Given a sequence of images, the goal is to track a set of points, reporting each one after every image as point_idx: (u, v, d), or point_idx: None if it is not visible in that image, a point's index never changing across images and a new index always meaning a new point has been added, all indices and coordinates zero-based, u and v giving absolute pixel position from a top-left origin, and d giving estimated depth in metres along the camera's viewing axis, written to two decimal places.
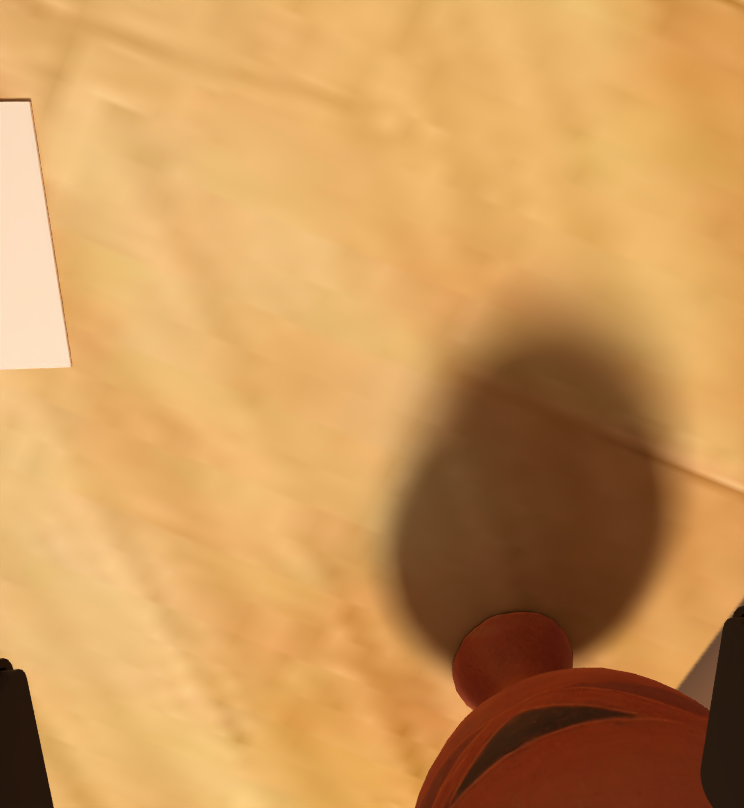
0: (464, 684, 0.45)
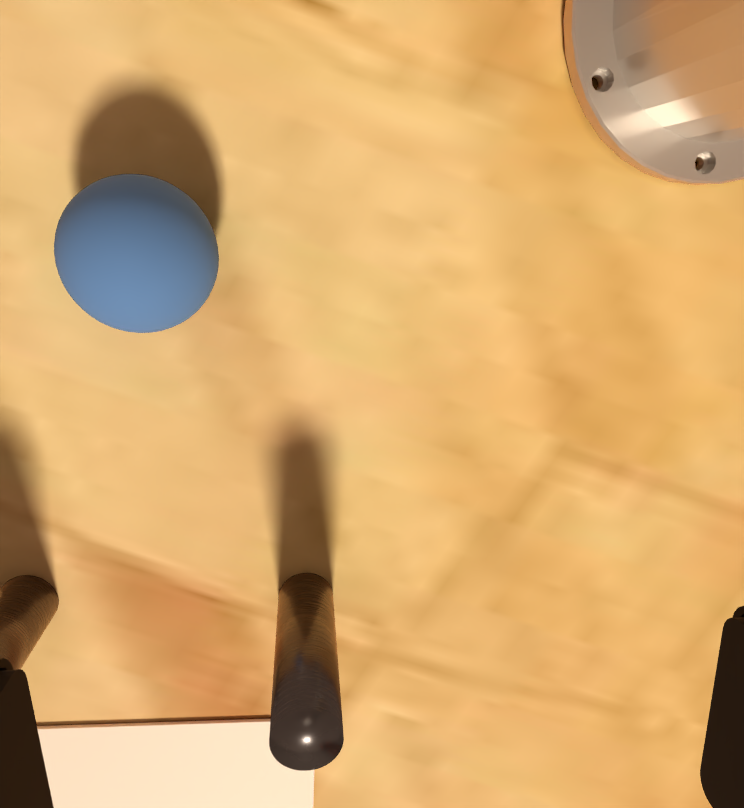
0: None
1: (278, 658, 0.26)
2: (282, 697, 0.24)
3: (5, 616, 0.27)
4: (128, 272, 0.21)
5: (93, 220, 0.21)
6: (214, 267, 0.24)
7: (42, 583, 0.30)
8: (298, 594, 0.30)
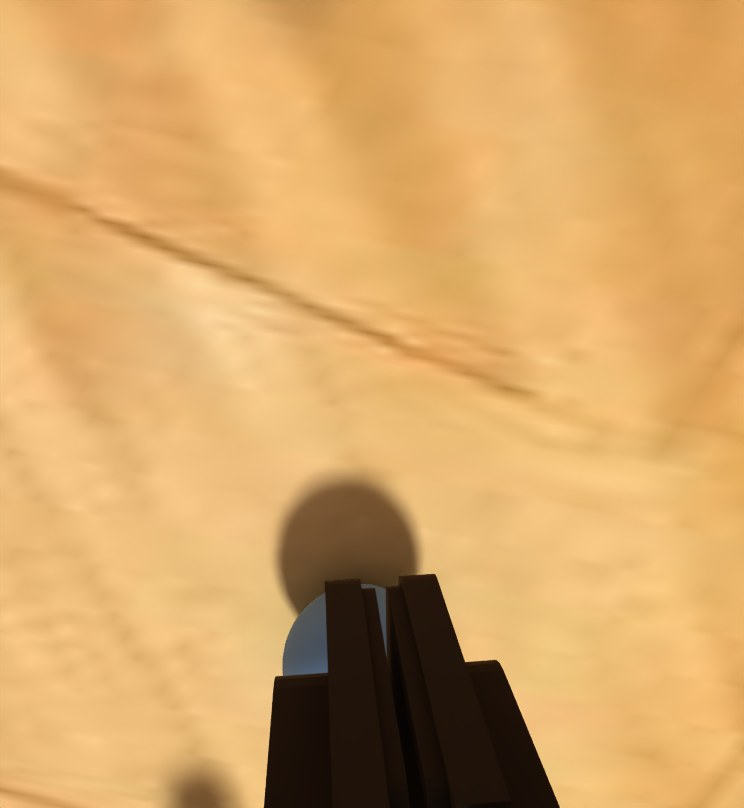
0: None
1: None
2: None
3: None
4: None
5: None
6: None
7: None
8: None
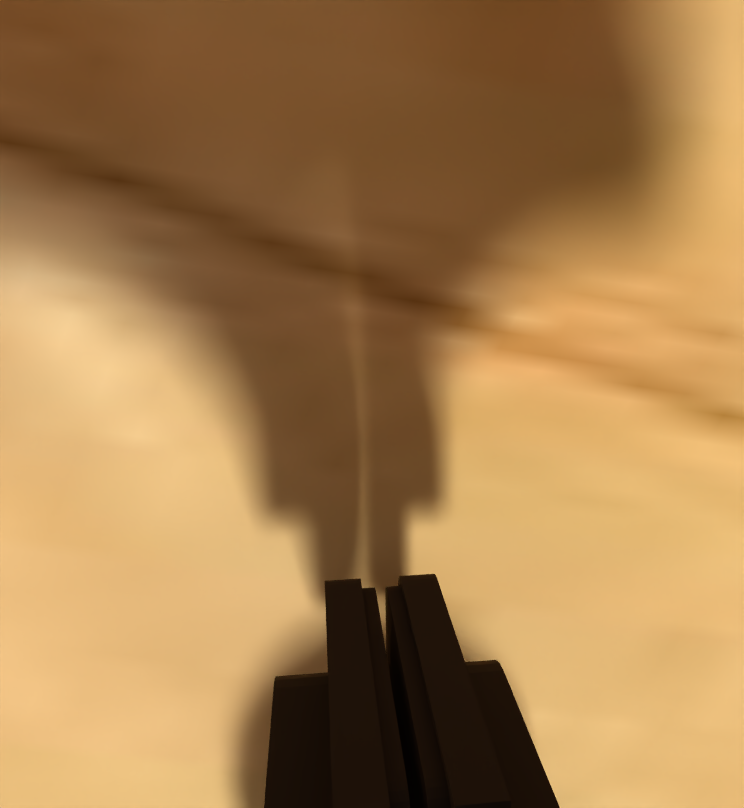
0: None
1: None
2: None
3: None
4: None
5: None
6: None
7: None
8: None
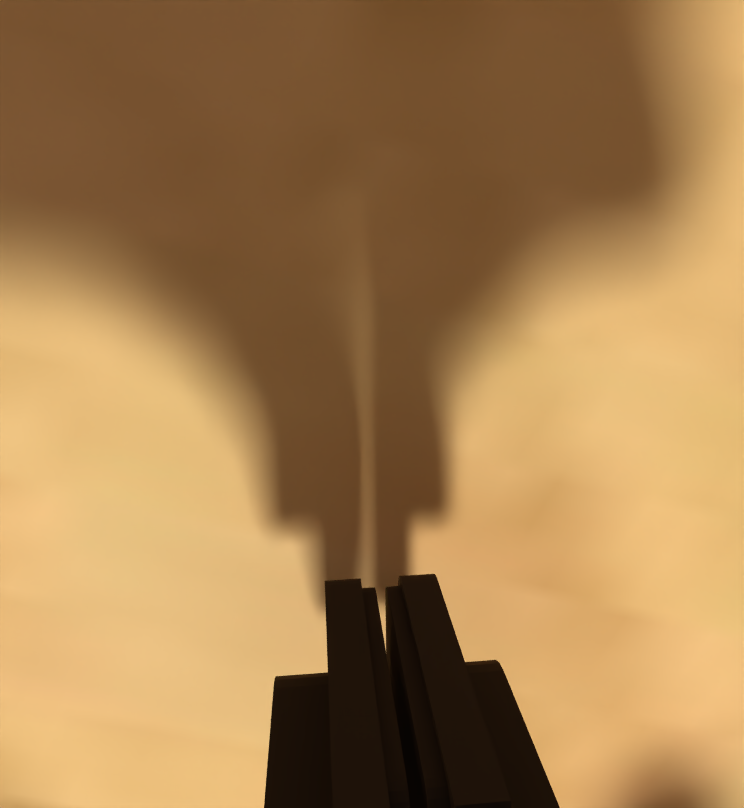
0: None
1: None
2: None
3: None
4: None
5: None
6: None
7: None
8: None
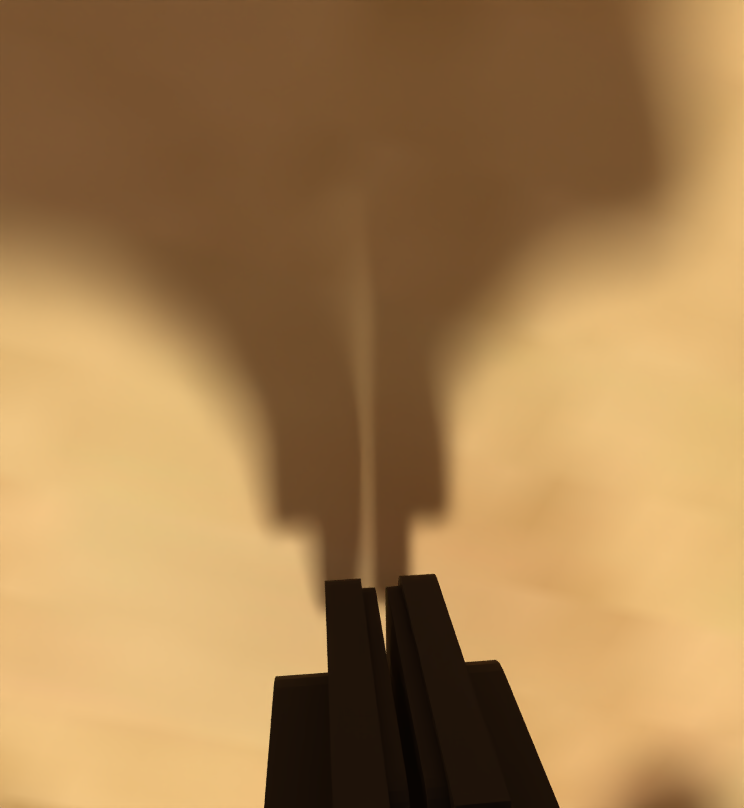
0: None
1: None
2: None
3: None
4: None
5: None
6: None
7: None
8: None
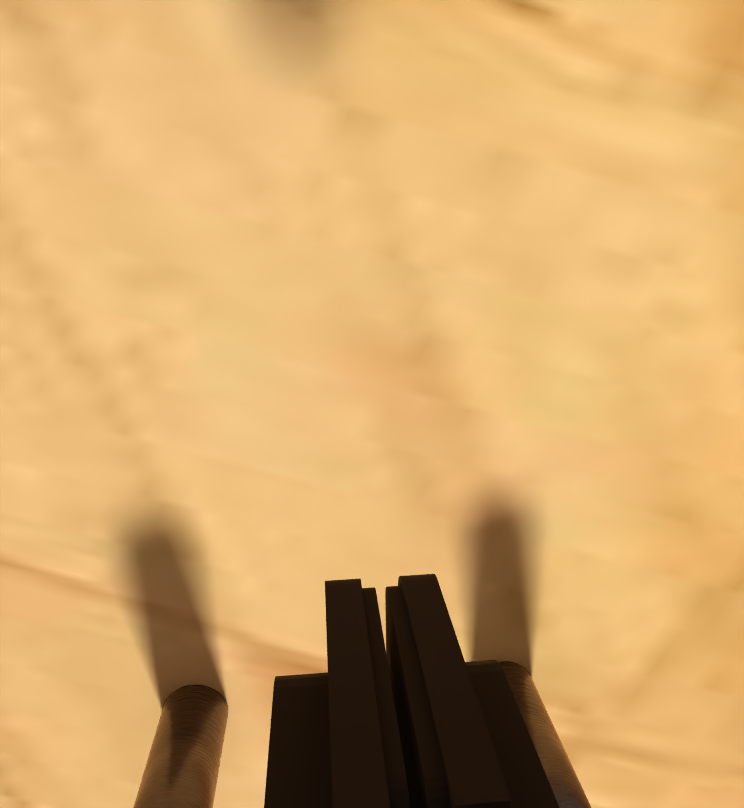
0: None
1: None
2: None
3: (188, 746, 0.23)
4: None
5: None
6: None
7: (211, 693, 0.26)
8: None
